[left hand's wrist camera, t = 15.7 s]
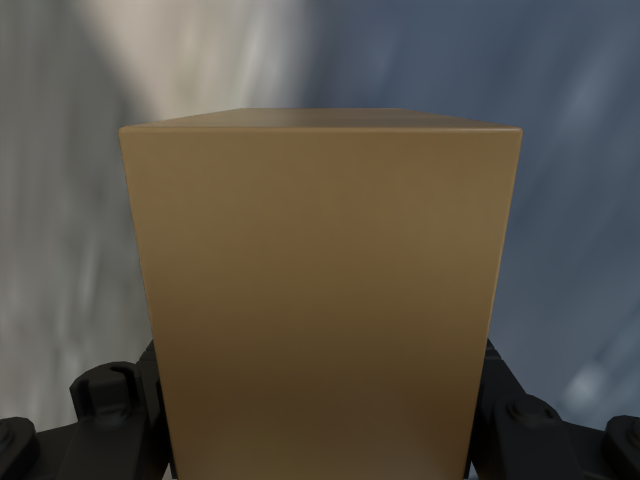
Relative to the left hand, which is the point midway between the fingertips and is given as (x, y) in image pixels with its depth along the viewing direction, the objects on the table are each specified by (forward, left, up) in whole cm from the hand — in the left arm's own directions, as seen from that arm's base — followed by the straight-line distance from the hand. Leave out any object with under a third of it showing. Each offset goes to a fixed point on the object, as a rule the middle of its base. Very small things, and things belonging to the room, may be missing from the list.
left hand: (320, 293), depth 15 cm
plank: (+24, +11, 0) cm, 26 cm away
